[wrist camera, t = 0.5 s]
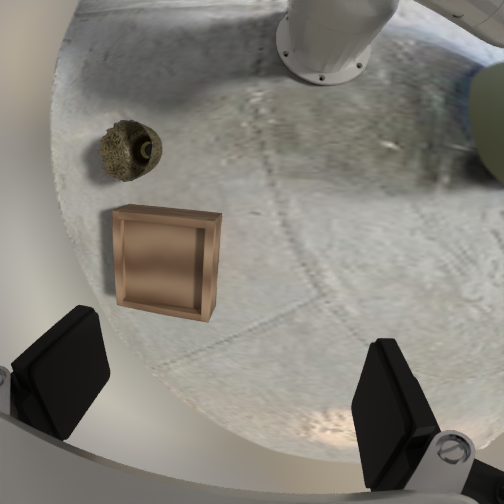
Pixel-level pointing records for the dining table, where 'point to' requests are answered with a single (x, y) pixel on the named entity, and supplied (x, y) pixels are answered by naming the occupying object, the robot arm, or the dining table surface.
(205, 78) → the dining table surface
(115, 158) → the cup
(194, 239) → the shallow wooden tray
